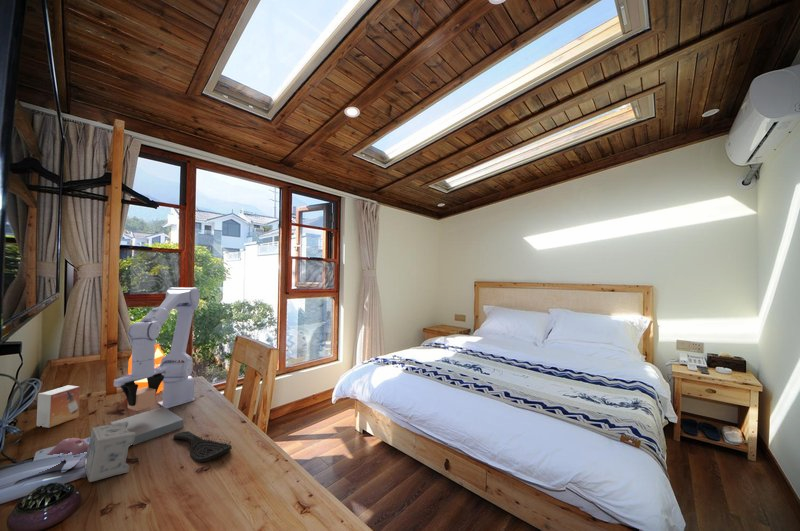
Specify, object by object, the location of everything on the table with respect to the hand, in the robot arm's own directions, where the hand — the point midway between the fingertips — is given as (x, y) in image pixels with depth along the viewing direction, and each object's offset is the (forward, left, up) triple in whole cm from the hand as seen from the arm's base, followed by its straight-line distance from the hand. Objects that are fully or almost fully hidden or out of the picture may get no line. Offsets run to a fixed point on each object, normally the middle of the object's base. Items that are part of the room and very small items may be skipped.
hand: (142, 401), depth 99 cm
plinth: (-1, +2, -8) cm, 9 cm away
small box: (+14, -27, -9) cm, 32 cm away
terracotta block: (0, 0, -2) cm, 2 cm away
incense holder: (+12, +19, -9) cm, 24 cm away
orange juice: (-11, -32, -9) cm, 35 cm away
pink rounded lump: (+18, +7, -9) cm, 21 cm away
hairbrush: (-6, +26, -9) cm, 28 cm away
